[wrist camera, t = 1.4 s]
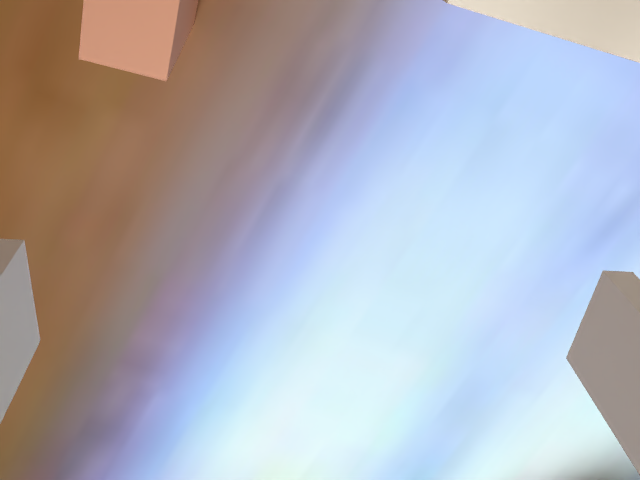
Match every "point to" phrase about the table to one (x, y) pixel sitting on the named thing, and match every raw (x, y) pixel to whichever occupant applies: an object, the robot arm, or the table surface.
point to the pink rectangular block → (136, 34)
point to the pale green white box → (572, 20)
